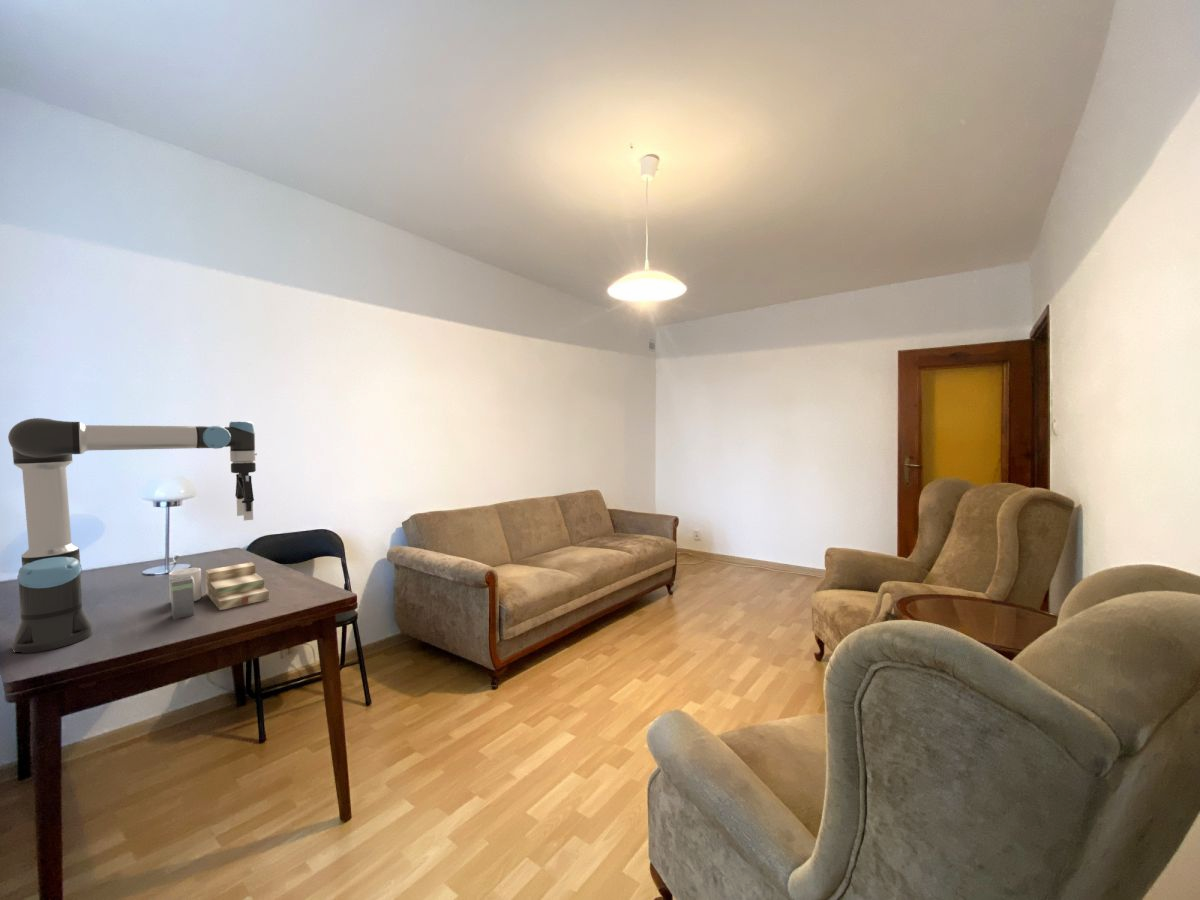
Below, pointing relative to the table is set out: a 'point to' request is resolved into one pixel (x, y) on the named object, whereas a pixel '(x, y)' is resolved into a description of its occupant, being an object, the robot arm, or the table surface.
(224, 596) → the stepped stand
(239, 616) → the table surface
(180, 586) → the column
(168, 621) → the table surface
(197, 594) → the mug
